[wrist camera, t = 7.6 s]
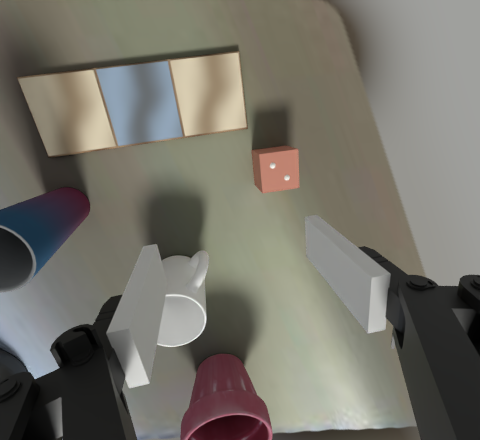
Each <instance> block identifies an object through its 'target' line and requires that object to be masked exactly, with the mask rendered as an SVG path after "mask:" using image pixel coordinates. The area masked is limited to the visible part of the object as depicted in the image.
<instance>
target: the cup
mask: <svg viewBox="0 0 480 440" xmlns="http://www.w3.org/2000/svg"><path fill="white" fill-rule="evenodd" d="M89 212H90V204H89V201H88V199H87V197H86V196H85V195H84V194H83V193H82V192H80V191H79V190H77V189H74V188H70V187H63V188H59V189H57V190H54V191H51V192H48V193H45V194H43V195H40V196H37V197H34V198H32V199H29V200H26V201H23V202H21V203H18V204H15V205H12V206H10V207H7V208H4V209H1V210H0V292H9V291H13V290H16V289H19V288H21V287H23V286H25V285H26V284H27V283H28V282H29V281H30V280H31V279H32V278H33V277H34V276H35V275H36V274H37V273H38V271H39V270H40V269H41V268H42V267H43V266H44V265H45V263H46V262H47V261H48V260H49V259H50V258H51V257H52V256H53V254H54V253H55V252H56V251H57V250H58V249H59V248H60V246H61V245H62V244H63V243H64V242H65V241H66V240H67V238H68V237H69V236H70V235H71V234H72V233H73V232H74V231H75V229H76V228H77V227H78V226H79V225H80V224H81V223H82V221H83V220H84V219H85V218H86V217H87V216H88V214H89Z"/></svg>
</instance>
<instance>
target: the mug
mask: <svg viewBox="0 0 480 440" xmlns="http://www.w3.org/2000/svg"><path fill="white" fill-rule="evenodd" d="M162 264H163V268H164V271H165V275H166V279H167V282H168V286H167V291H166V297H165V302H164V308H163V313H162V319H161V324H160V330H159V335H158V341H157V344H158V345H161V346H167V347H174V346H181V345H185V344H187V343H189V342H191V341H193V340H194V339H196V338H197V337H198V336H199V335H200V334H201V333H202V331H203V330H204V328H205V325H206V296H205V275H206V272H207V269H208V265H209V255H208V253H207V252H206V251H204V250H200V251H198V252H197V253H196V254H195V255H194V256H193V257H192V258H190V257H187V256H181V255H176V256H170V257H167V258H165V259H163V260H162Z"/></svg>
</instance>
